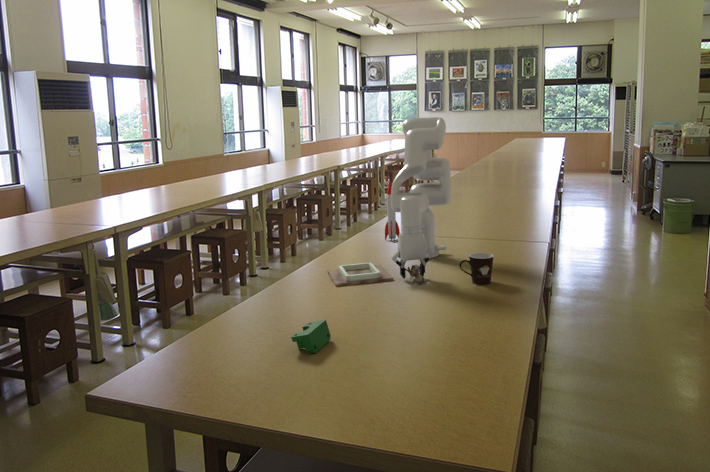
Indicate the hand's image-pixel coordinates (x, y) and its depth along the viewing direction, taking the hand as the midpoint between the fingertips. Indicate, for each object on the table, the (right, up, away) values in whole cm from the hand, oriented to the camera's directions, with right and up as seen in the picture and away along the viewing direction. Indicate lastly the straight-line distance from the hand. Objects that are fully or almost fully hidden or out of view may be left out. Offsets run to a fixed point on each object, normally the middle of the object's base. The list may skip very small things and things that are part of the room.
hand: (412, 275), depth 210 cm
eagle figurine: (0, -2, -2) cm, 3 cm away
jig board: (-20, -1, +8) cm, 22 cm away
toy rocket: (-3, +13, +68) cm, 69 cm away
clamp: (-34, -16, -57) cm, 68 cm away
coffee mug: (+23, -2, -7) cm, 24 cm away
